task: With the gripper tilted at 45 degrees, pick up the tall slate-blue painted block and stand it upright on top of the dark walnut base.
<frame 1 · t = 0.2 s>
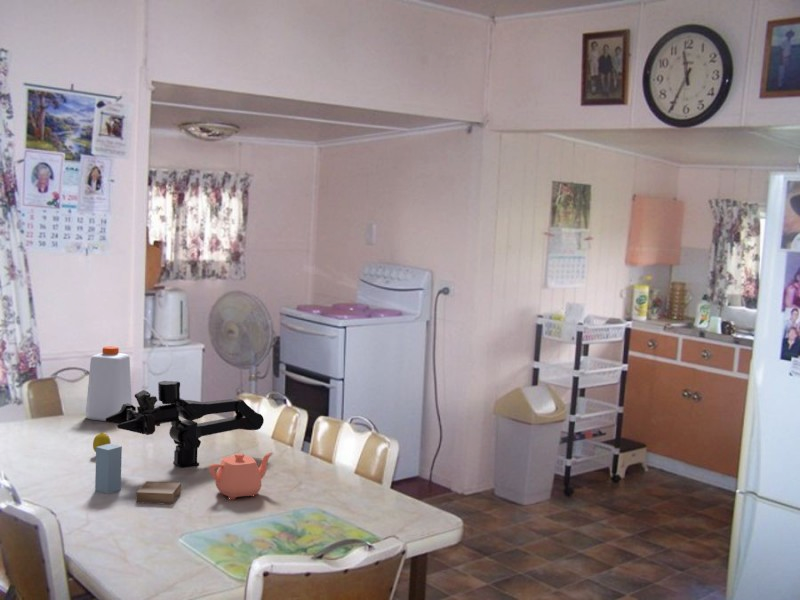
hand: (111, 423, 253), 17 cm above the table, tool horizontal, fingers open, 9 cm apart
plastic bottle: (109, 417, 328), on the table
walnut base: (158, 497, 238), on the table
lemon: (101, 456, 275), on the table
teapot: (240, 494, 245), on the table
blue block: (108, 490, 242), on the table
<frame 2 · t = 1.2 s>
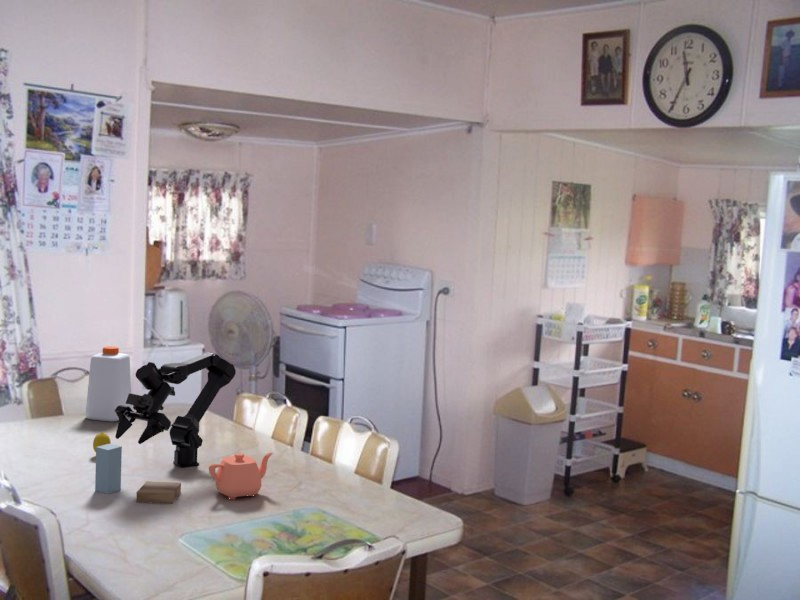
hand: (127, 440, 247), 13 cm above the table, tool tilted 45°, fingers open, 9 cm apart
nothing on the table moved.
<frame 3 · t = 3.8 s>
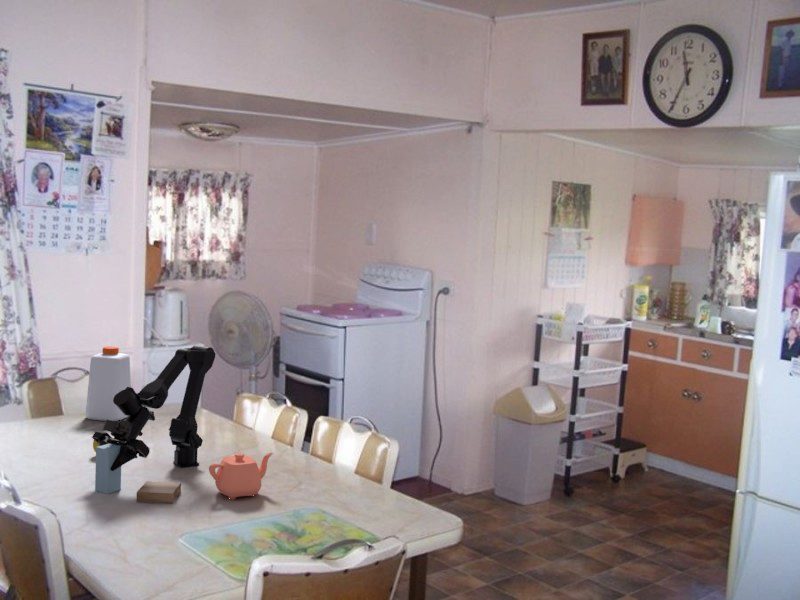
hand: (104, 468, 240), 7 cm above the table, tool tilted 45°, fingers closed on blue block, 5 cm apart
blue block: (107, 490, 242), on the table, touching gripper
everything else where it was.
when the fingers open (11 cm above the table, at t = 7.2 s): blue block drops 1 cm, resting on walnut base.
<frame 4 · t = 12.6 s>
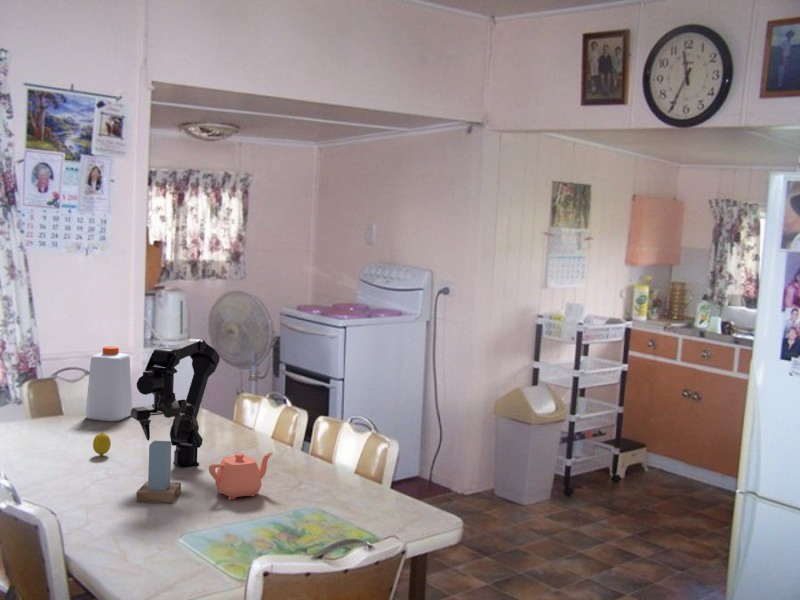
hand: (162, 438, 256), 12 cm above the table, tool pointing down, fingers open, 9 cm apart
blue block: (159, 487, 237), point 3 cm above the table, touching walnut base
everything else where it was.
at the end: blue block 0.0 cm off-centre on the walnut base, point 3.0 cm above the walnut base's base; blue block tilted 0°; the gripper is holding nothing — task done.
